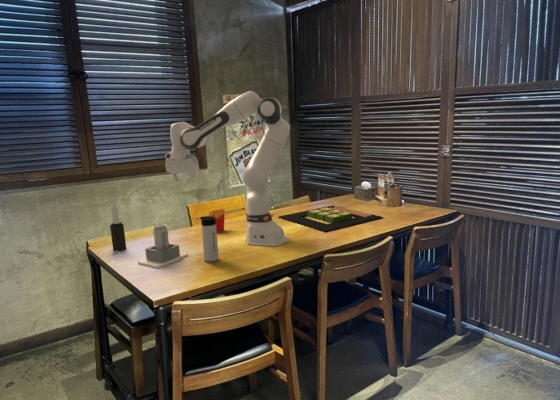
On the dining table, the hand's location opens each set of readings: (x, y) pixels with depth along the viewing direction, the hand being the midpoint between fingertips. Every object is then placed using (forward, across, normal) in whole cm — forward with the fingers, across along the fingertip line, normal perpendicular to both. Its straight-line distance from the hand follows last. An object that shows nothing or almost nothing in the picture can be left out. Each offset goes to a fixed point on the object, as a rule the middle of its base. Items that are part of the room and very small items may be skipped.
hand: (183, 181), depth 205 cm
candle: (+31, +22, +26) cm, 46 cm away
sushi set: (+32, -48, -71) cm, 92 cm away
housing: (+31, -11, +27) cm, 43 cm away
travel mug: (+31, -32, +19) cm, 49 cm away
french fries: (+31, -3, -20) cm, 37 cm away
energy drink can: (+30, -11, +27) cm, 42 cm away
